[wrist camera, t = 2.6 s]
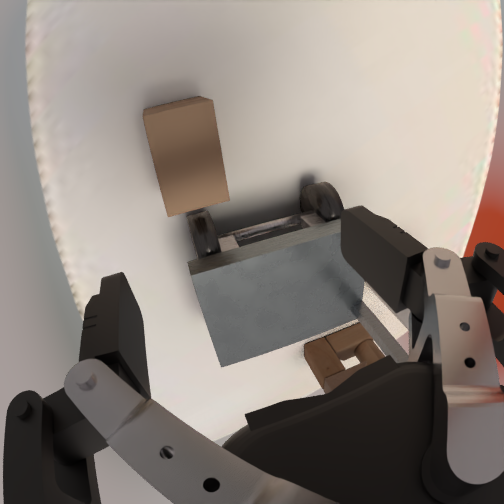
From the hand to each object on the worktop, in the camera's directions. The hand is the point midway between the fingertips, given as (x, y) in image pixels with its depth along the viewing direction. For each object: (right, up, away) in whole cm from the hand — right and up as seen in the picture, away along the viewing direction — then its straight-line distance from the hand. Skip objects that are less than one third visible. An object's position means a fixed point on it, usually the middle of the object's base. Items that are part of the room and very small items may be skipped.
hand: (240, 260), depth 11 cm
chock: (-6, +10, +16) cm, 20 cm away
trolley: (+1, 0, +25) cm, 25 cm away
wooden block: (+13, -14, +38) cm, 43 cm away
